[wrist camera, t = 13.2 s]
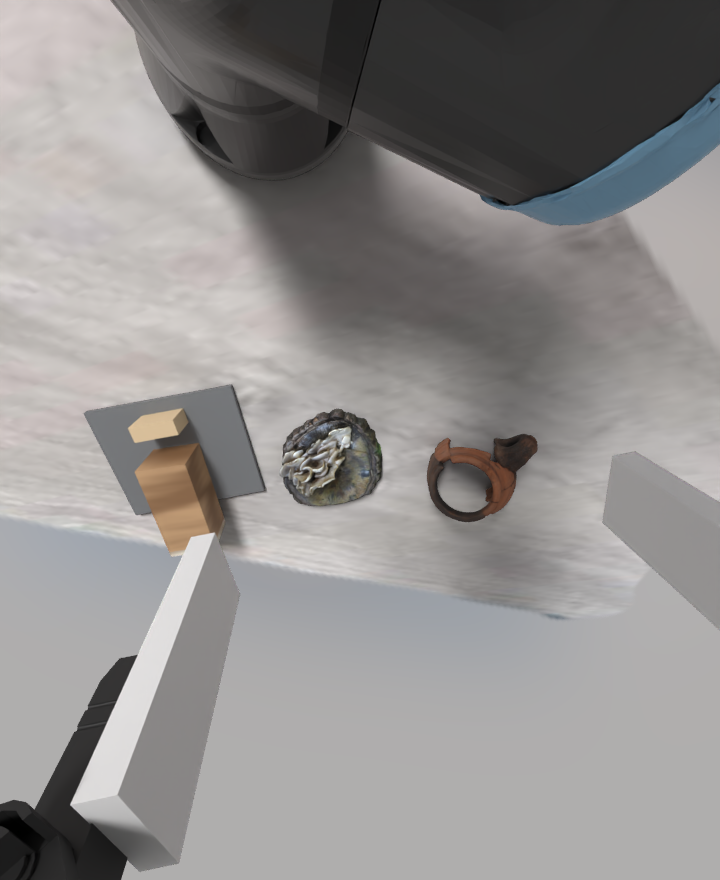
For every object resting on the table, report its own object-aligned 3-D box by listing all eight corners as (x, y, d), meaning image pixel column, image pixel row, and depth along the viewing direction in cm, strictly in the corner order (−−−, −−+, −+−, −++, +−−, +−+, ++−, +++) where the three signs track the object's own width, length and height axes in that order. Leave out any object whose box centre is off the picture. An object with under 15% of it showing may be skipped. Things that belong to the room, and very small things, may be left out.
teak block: (134, 471, 34) (171, 556, 39) (185, 464, 34) (216, 549, 39) (153, 449, 38) (185, 528, 43) (198, 442, 38) (225, 522, 43)
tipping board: (86, 411, 37) (64, 425, 33) (231, 384, 37) (223, 396, 34) (138, 511, 42) (123, 533, 39) (264, 487, 42) (260, 506, 39)
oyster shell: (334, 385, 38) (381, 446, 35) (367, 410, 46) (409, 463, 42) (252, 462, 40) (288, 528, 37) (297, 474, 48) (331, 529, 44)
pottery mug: (475, 510, 47) (463, 546, 40) (422, 454, 48) (401, 480, 41) (559, 451, 41) (563, 482, 34) (497, 388, 42) (488, 405, 35)
